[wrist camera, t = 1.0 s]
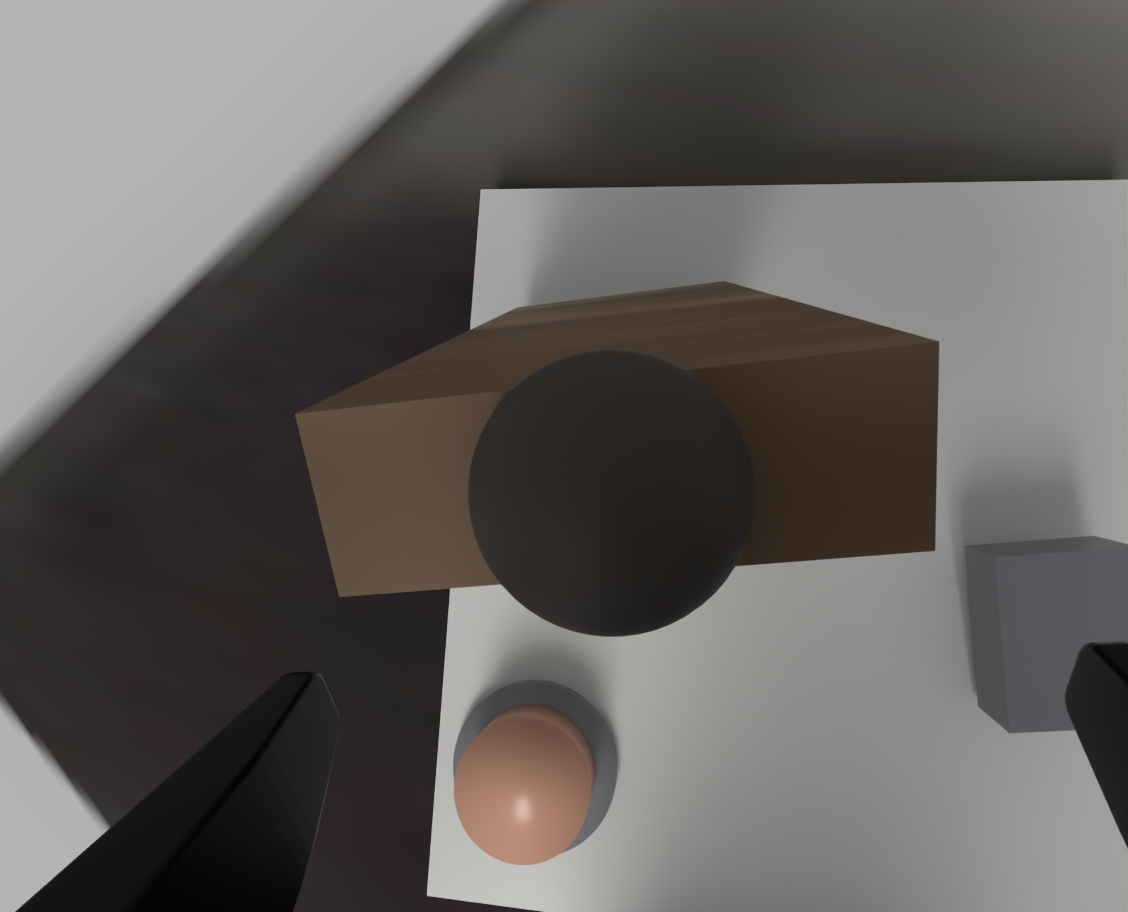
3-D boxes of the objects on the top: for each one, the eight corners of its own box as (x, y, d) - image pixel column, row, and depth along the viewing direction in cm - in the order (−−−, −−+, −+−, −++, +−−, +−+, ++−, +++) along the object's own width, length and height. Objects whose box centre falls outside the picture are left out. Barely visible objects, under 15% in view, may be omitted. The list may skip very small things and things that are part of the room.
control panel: (1145, 963, 19) (1205, 1014, 17) (442, 871, 22) (419, 906, 20) (1113, 204, 21) (1162, 168, 19) (491, 211, 24) (476, 180, 22)
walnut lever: (730, 354, 21) (1056, 676, 5) (527, 377, 22) (248, 719, 6) (724, 268, 20) (1082, 322, 4) (515, 295, 21) (161, 425, 5)
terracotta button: (591, 843, 19) (584, 873, 17) (467, 828, 20) (448, 856, 18) (598, 710, 20) (592, 726, 18) (476, 699, 20) (459, 714, 18)
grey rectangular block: (1107, 700, 18) (1151, 726, 16) (978, 706, 18) (1009, 733, 17) (1094, 535, 18) (1136, 546, 16) (964, 545, 18) (995, 556, 17)
